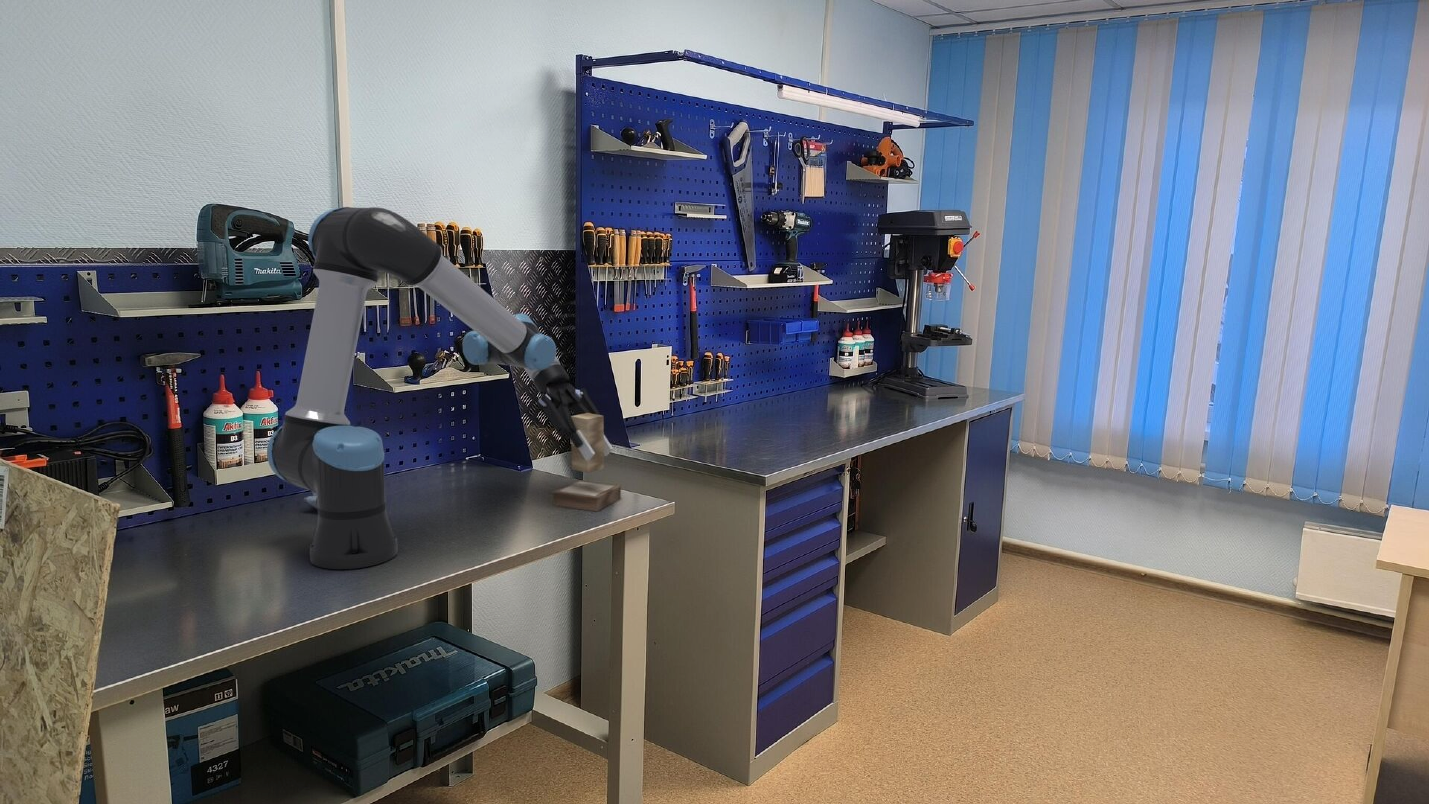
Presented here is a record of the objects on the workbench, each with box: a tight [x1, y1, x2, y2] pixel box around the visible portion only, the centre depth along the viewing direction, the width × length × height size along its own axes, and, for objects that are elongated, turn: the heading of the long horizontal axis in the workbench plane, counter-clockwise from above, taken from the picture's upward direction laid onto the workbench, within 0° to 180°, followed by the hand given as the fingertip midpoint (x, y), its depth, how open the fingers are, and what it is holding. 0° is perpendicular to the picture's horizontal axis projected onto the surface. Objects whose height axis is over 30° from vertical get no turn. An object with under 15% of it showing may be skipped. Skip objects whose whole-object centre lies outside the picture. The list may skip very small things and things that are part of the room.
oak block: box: [571, 413, 605, 474], centre depth 208 cm, size 5×5×12 cm
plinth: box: [552, 480, 622, 512], centre depth 210 cm, size 11×11×3 cm
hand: (599, 454), depth 206 cm, fingers closed on oak block, 5 cm apart
